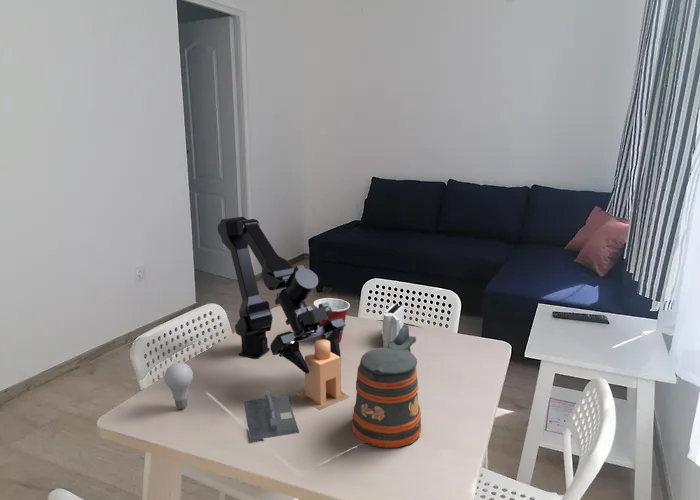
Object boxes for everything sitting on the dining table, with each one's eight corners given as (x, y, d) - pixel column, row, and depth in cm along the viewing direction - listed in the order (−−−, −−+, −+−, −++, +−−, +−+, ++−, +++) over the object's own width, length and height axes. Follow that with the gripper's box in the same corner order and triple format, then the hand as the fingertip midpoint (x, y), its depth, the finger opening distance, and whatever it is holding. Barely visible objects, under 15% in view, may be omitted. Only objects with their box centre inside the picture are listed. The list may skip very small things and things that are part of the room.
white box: (399, 353, 148) (399, 320, 146) (380, 352, 149) (380, 319, 147) (404, 334, 162) (404, 303, 159) (386, 333, 163) (386, 302, 160)
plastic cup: (350, 348, 152) (349, 309, 149) (312, 348, 152) (311, 309, 149) (350, 333, 163) (350, 296, 160) (315, 333, 163) (314, 296, 160)
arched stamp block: (305, 395, 125) (304, 341, 122) (326, 387, 129) (325, 335, 125) (320, 405, 120) (319, 350, 117) (341, 396, 124) (340, 343, 121)
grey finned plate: (244, 403, 122) (243, 383, 121) (287, 397, 125) (286, 377, 124) (250, 442, 107) (249, 420, 106) (299, 434, 110) (298, 412, 109)
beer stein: (372, 396, 125) (373, 317, 120) (433, 408, 120) (436, 325, 115) (341, 439, 108) (340, 349, 103) (410, 456, 103) (413, 361, 98)
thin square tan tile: (297, 396, 125) (296, 394, 125) (327, 384, 131) (327, 382, 131) (319, 411, 118) (319, 409, 118) (350, 398, 124) (350, 396, 124)
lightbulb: (170, 418, 116) (165, 372, 114) (165, 405, 122) (161, 361, 119) (198, 411, 119) (194, 366, 116) (192, 399, 124) (189, 356, 122)
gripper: (274, 301, 117) (304, 364, 111) (340, 285, 128) (370, 341, 123) (258, 325, 125) (285, 384, 119) (321, 308, 136) (349, 361, 130)
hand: (324, 367), depth 122 cm, fingers open, 9 cm apart
